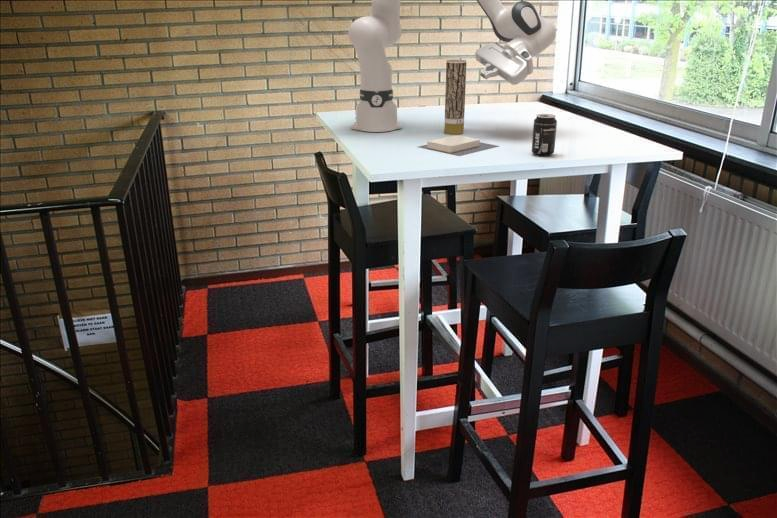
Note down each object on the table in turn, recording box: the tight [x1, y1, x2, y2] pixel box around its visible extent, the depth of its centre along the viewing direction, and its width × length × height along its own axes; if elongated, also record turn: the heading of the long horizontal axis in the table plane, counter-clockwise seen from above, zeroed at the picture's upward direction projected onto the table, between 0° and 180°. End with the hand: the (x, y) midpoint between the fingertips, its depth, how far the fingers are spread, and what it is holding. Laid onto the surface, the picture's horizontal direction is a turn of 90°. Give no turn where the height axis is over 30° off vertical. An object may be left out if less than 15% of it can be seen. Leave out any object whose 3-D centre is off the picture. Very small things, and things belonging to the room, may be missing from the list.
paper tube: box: [443, 59, 467, 136], centre depth 228 cm, size 7×7×25 cm
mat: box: [417, 141, 500, 157], centre depth 213 cm, size 20×18×1 cm
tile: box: [426, 135, 481, 154], centre depth 211 cm, size 2×10×14 cm
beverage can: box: [531, 113, 558, 157], centre depth 201 cm, size 7×7×12 cm
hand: (482, 76), depth 217 cm, fingers closed
